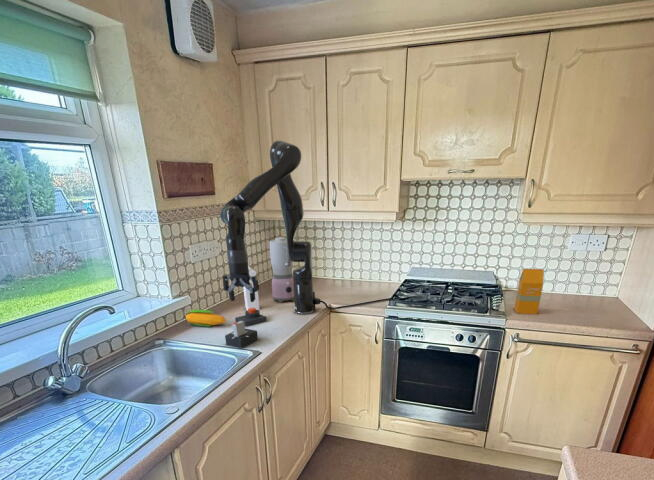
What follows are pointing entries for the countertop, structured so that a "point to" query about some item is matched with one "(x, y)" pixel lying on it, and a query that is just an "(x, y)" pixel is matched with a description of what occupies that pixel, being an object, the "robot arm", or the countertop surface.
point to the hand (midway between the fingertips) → (242, 301)
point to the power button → (252, 310)
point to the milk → (247, 294)
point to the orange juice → (529, 291)
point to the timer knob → (238, 328)
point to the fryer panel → (241, 338)
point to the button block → (251, 318)
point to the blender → (281, 270)
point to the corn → (204, 318)
